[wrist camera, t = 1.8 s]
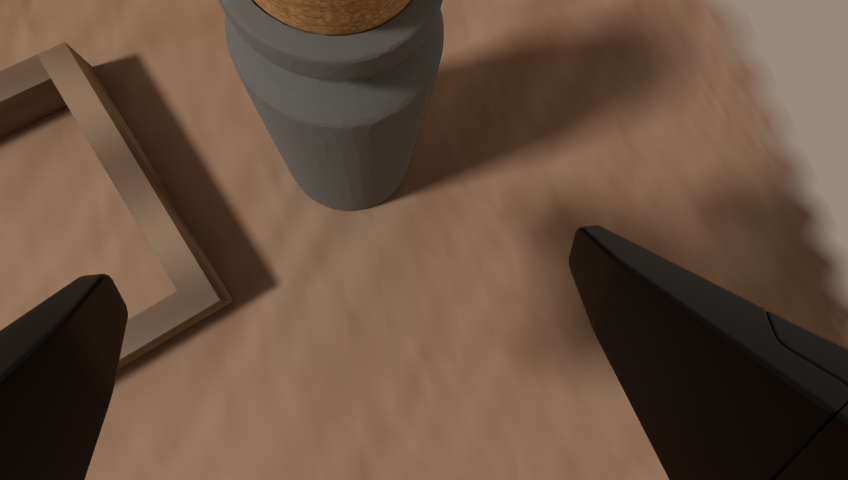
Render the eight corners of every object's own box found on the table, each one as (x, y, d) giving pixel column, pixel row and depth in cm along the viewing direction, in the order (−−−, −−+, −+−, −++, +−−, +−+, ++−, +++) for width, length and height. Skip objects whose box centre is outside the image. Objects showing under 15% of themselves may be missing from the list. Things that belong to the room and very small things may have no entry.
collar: (233, 301, 21) (220, 300, 19) (-60, 475, 19) (-110, 495, 17) (91, 66, 22) (64, 42, 20) (-208, 205, 19) (-273, 194, 17)
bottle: (340, 74, 23) (298, -332, 9) (433, 146, 23) (550, -134, 9) (262, 161, 22) (58, -133, 7) (359, 236, 22) (350, 94, 7)
